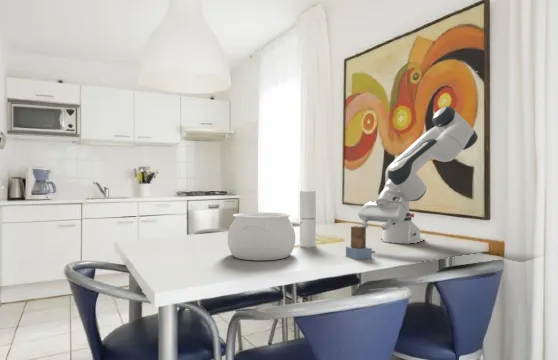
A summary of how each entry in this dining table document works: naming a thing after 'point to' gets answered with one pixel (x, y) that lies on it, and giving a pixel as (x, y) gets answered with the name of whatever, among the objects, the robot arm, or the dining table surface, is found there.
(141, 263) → the dining table surface
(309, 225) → the cylindrical container
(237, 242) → the pot
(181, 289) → the dining table surface
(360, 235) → the walnut block
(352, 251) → the slate block
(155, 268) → the dining table surface
